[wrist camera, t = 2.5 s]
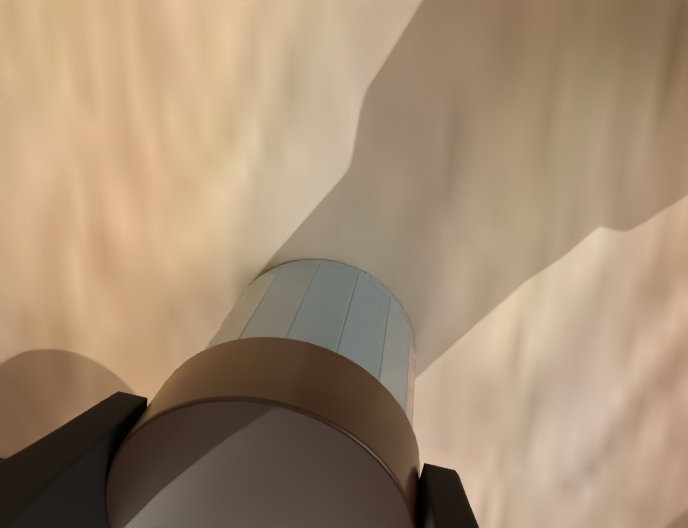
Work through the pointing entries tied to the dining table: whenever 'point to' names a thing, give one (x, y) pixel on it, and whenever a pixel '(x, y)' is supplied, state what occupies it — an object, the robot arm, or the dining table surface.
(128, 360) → the dining table surface
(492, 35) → the dining table surface
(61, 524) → the robot arm
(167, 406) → the top chip
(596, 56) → the dining table surface
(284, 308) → the cup
